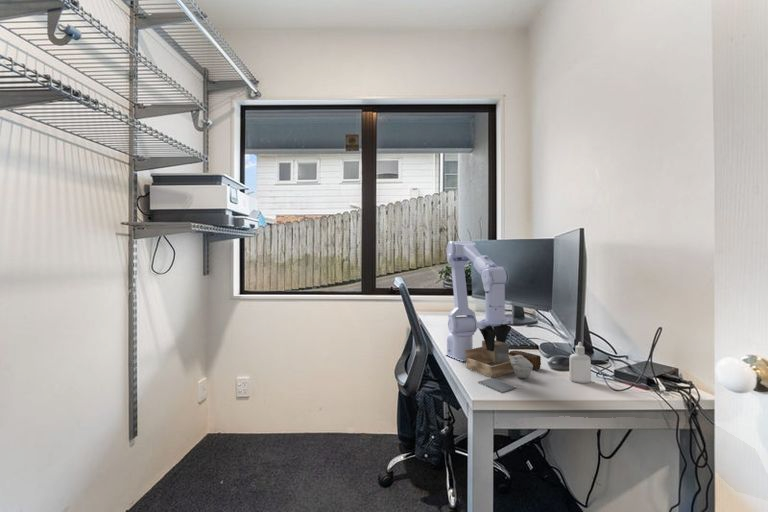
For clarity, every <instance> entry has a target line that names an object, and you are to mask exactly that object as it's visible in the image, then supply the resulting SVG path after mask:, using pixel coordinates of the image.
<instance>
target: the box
mask: <svg viewBox="0 0 768 512" xmlns="http://www.w3.org/2000/svg"><path fill="white" fill-rule="evenodd" d="M481 347H482V357H485V358H488V359H491V360H494V361H497V362H504V361H508V360H509V352H510V343H507V342H505V343H504V342H500V341H496V339H495V342H494V351H489V350H487V348H486V344H485V340H484V339H483V340H482V341H481Z"/></svg>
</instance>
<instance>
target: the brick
mask: <svg viewBox="0 0 768 512" xmlns="http://www.w3.org/2000/svg"><path fill="white" fill-rule="evenodd" d="M509 355H512V356H515V355H522V356H524V358H526V359H527V360H529V361H530V362H531V363H532V365H533V369H532V370H531V371H534V372H535V371H538V370H540V369H541V365H542V362H541V361H542V359H541V358H542V357H541V355H539V354H533V353H530V352H526V351H522V350H509Z"/></svg>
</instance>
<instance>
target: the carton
mask: <svg viewBox="0 0 768 512" xmlns="http://www.w3.org/2000/svg"><path fill="white" fill-rule="evenodd" d="M511 357H513V356H512V355H509V360H508V361H504V362H497V361H494V360H491V359H488V358H485V357H482V346H480V347H476V348H475V347H474V348H473V349H469V350H466V361H465V362H466V364H465V366H466V367H467V368H466V369H468V368H470V369H472V370H471V371H473V370H474V371H473V372H475V371H477V372H476V373H478V372H479V373H478V374H480V373H481V374H480V375H483V374H484V376H485V375H486V376H485V377H488V378H490V377H491V378H497V377H500V376H503V375H508V374H511V373H515V372H514V368H513V367H512V365H511V361H510V358H511ZM486 363H487V364H486ZM491 363H494V365H489V364H491ZM470 369H469V370H470Z"/></svg>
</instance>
